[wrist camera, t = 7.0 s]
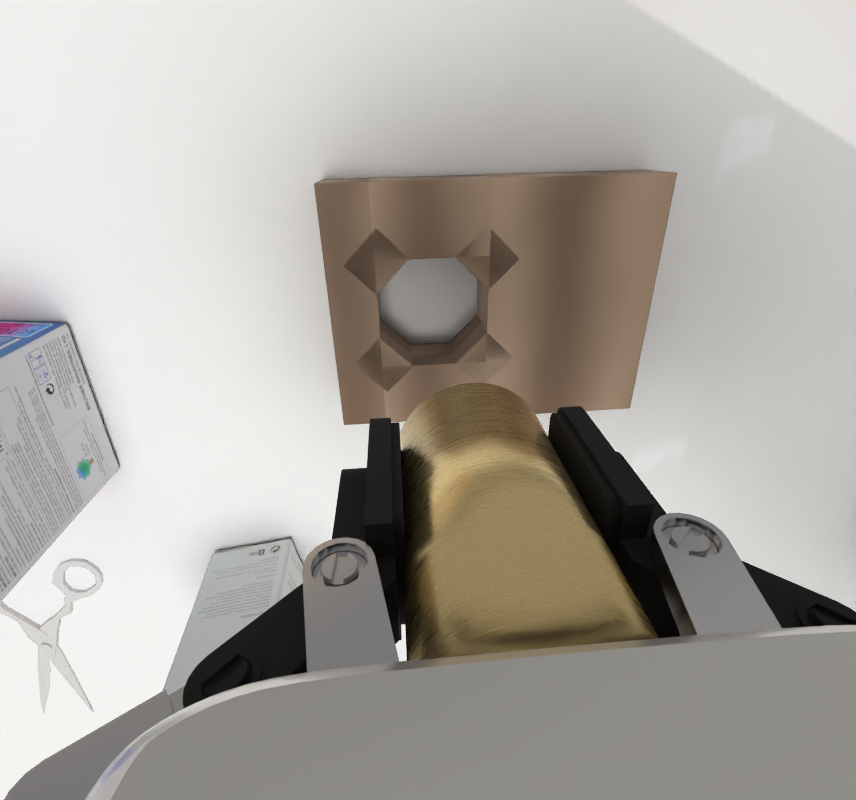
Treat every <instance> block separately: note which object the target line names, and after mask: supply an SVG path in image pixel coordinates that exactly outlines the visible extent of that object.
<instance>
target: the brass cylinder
mask: <svg viewBox="0 0 856 800" xmlns="http://www.w3.org/2000/svg"><path fill="white" fill-rule="evenodd" d="M400 445H401V464H402V485H403V506H404V527H405V548H406V565H405V570H404V598H405V623H406V648H407V661H413V660H424V659H435V658H445V657H456V656H466V655H477V654H487V653H498V652H509V651H520V650H531V649H542V648H553V647H564V646H575V645H587V644H598V643H609V642H621V641H632V640H643V639H655V638H659V637H658V635H657V633H656V632H655V630H654V628H653V626H652V624H651V623H650V621H649V619H648V617H647V615H646V614H645V612H644V610H643V608H642V606H641V604H640V603H639V601H638V599H637V597H636V595H635V594H634V592H633V590H632V588H631V586H630V585H629V583H628V581H627V579H626V577H625V576H624V574H623V572H622V570H621V568H620V567H619V565H618V563H617V561H616V559H615V558H614V556H613V554H612V552H611V550H610V549H609V547H608V545H607V543H606V541H605V539H604V538H603V536H602V534H601V532H600V530H599V529H598V527H597V525H596V523H595V521H594V520H593V518H592V516H591V514H590V512H589V511H588V509H587V507H586V505H585V503H584V502H583V500H582V498H581V496H580V494H579V493H578V491H577V489H576V487H575V485H574V483H573V482H572V480H571V478H570V476H569V474H568V473H567V471H566V469H565V467H564V465H563V464H562V462H561V460H560V458H559V456H558V455H557V453H556V451H555V449H554V447H553V446H552V444H551V442H550V440H549V438H548V437H547V435H546V433H545V431H544V429H543V427H542V426H541V424H540V422H539V420H538V418H537V417H536V415H535V413H534V411H533V410H532V409H531V407H530V406H529V405H528V404H527V403H526V401H525V400H524V399H522V398H521V397H520V396H518V395H517V394H516V393H514V392H512V391H510V390H508V389H506V388H503V387H501V386H497V385H493V384H488V383H465V384H459V385H455V386H451V387H448V388H445V389H443V390H440V391H438V392H436V393H434V394H433V395H431V396H430V397H428V398H427V399H425V400H424V401H423V402H422V403H420V404H419V405H418V406H417V407H416V408H415V409H414V411H413V412H412V413H411V414H410V416H409V417H408V419H407V420H406V422H405V424H404V426H403V428H402V431H401V434H400Z"/></svg>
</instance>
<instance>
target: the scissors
mask: <svg viewBox="0 0 856 800" xmlns="http://www.w3.org/2000/svg"><path fill="white" fill-rule="evenodd" d="M70 566H77V567H84V568H86V569H88V570H90V571H91V572H92V573H93V574H94V575H95V580H96V584H95V585H94V586H93V587H91V588H90V589H88V590H76V589H74V588H71V587H70V586H69V585H68V584H67V583H66V582H65V571H66V569H67V568H68V567H70ZM102 582H103V576H102V572H101V571H100V569H99V568H98V567H97V566H95V565H94V564H93V563H91V562H89V561H88V560H84V559H70V560H67V561H65V562H62V563H61V564H60V565H59V566H58V568H57V569H56V571H55V572H54V574H53V580H52V583H53V584H54V585H55V586H57V587H58V588H59V589H60V590H61V591H62V592H63V593H64V594H66V596H65V597H64V602H65V606H64V607H63V608H62V609H61V610H60V611H59V612H58V613H57V614H56V615H55V616H53V617H52V618H50V619H48V620H47V621H46V622H45V623H44V624H43V625H42V626H40V625H39V624H37V623H35V622H34V621H32V620H30V619H28V618H27V617H25V616H23V615H22V614H20V613H18V612H16V611H14V610H13V609H11V608H10V607H8V606H7V605H6V604H5V603H3V602H2V601H1V602H0V613H1V614H4V615H6V616H9V617H10V618H12V619H14V620H15V621H17V622H18V623H19V624H20V626H21V628H22V629H23V631H24V632H25V634H26V635H27V636H28V638H29V639H31V640H32V641H33V642H34V643H36V644H37V645H38V673H39V685H40V696H41V705H42V710H43V714H44V710H45V705H46V701H47V696H48V692H49V687H50V673H51V667H50V662H49V659H50V660H51V661H52V663H53V664H54V665H55V666H56V668H57V669H58V670H59V671H60V673H61V674H62V675H63V676H64V678H65V679H66V680H67V682H68V683H69V684H70V685H71V686H72V688H73V689H74V690H75V691H76V692H77V694H78V695H79V696H80V697H81V698H82V700H83V701H84V702H85V703H86V704H87V706H88V707H89V708H90V709H91V710H92V708H91V706H90V704H89V702H88V700H87V697H86V695H85V693H84V691H83V689H82V687H81V685H80V683H79V681H78V679H77V677H76V675H75V673H74V671H73V670H72V668H71V666H70V664H69V663H68V661H67V659H66V657H65V655H64V654H63V652H62V650H61V648H60V647H59V645H58V638H59V626H60V622H61V618H62V617H63V616H65V615H68V614H70V613H71V612H72V611H73V605H72V602H74V601H76V600H78V599H81V598H85V597H88V596H91V595H92V594H94V593H95V592H96V591H97V590H98V589H99V588H100V587H101V585H102ZM92 712H93V710H92ZM93 713H94V712H93Z"/></svg>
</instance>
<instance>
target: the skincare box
mask: <svg viewBox="0 0 856 800" xmlns="http://www.w3.org/2000/svg"><path fill="white" fill-rule="evenodd" d="M302 571H303V565H302V563H301V561H300V559H299V557H298V555H297V553H296V550H295V547H294V545H293V542H292V540H291V539H286V540H279V541H275V542H271V543H265V544H259V545H252V546H243V547H238V548H232V549H226V550H220V551H216V552H215V553H214V555H212V557H211V560H210V562H209V565H208V568H207V571H206V573H205V576H204V579H203V581H202V584H201V587H200V590H199V593H198V595H197V598H196V601H195V604H194V606H193V609H192V612H191V614H190V617H189V620H188V622H187V625H186V628H185V631H184V633H183V636H182V639H181V642H180V644H179V647H178V650H177V653H176V655H175V658H174V661H173V664H172V666H171V669H170V672H169V675H168V677H167V680H166V683H165V686H164V688H163V691H164V690H166V691H167V693H168V695H170V694H171V693H173V692H175V691H177V690H178V689H180V688H182V687H183V686H185V685H186V682H187V679H188V677H189V676H190V674H191V673H192V672H193V670H194V669H195V667H196V666H197V665H198V664H199V663H200V662H201V661H202V660H203V659H204V658H205V657H206V656H207V655H209V654H210V653H211V652H213V651H214V650H215V649H217V648H218V647H219V646H221V645H222V644H223V643H225V642H226V641H227V640H228V639H230V638H231V637H232V636H234V635H235V634H236V633H238V632H239V631H240V630H242V629H243V628H244V627H246V626H247V625H248V624H249V623H251V622H252V621H253V620H255V619H256V618H257V617H259V616H260V615H261V614H263V613H264V612H265V611H267V610H268V609H269V608H271V607H272V606H273V605H274V604H276V603H277V602H278V601H280V600H281V599H282V598H284V597H285V596H286V595H288V594H289V593H290V592H292V591H293V590H294V589H295V588H297V587H298V586H299V585H301V584H302V583H303V575H302Z"/></svg>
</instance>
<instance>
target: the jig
mask: <svg viewBox="0 0 856 800" xmlns="http://www.w3.org/2000/svg"><path fill="white" fill-rule="evenodd" d="M676 176H677V173H674V172H663V171H653V170H622V171H589V172H556V173H523V174H489V175H456V176H423V177H390V178H356V179H323V180H321V181H319V182H317V183H315V184H314V187H315V195H316V203H317V211H318V219H319V227H320V235H321V243H322V251H323V259H324V267H325V275H326V283H327V291H328V299H329V308H330V316H331V324H332V332H333V340H334V348H335V356H336V364H337V372H338V380H339V388H340V396H341V404H342V412H343V420H344V425H350V424H367V423H370V419H374V418H391V422H402V421H406V420H407V419H408V417H409V416H410V414H411V413H412V412H413V411H414V409H415V408H416V407H417V406H418V405H419V404H420V403H422V402H423V401H424V400H425V399H427V398H428V397H430V396H431V395H433V394H434V393H436V392H438V391H440V390H443V389H445V388H448V387H451V386H455V385H459V384H465V383H488V384H493V385H497V386H501V387H503V388H506V389H508V390H510V391H512V392H514V393H516V394H517V395H518V396H520V397H521V398H522V399H524V400H525V401H526V403H527V404H528V405H529V406H530V407H531V409H532V410H533V411H534V413H535V414H539V413H556V412H557V410H558V408H559V407H573V406H581V407H582V408H583V409H584V410H585V411H590V410H607V409H625V408H630V404H631V399H632V394H633V389H634V384H635V379H636V374H637V369H638V365H639V360H640V355H641V350H642V345H643V340H644V335H645V330H646V325H647V320H648V315H649V310H650V305H651V300H652V295H653V290H654V285H655V280H656V275H657V270H658V265H659V260H660V255H661V250H662V245H663V240H664V235H665V231H666V226H667V221H668V216H669V211H670V206H671V201H672V196H673V191H674V186H675V181H676ZM451 257H456V258H457V259H458V260H459V261H460V262H461V263H462V264H464V265H465V266H466V267H467V268H468V269H469V270H470V271H471V272H472V273H473V274H474V275H475V276H476V277H477V278H478V302H477V315H476V316H475V317H474V318H473V319H472V320H471V321H470V322H469V323H468V324H467V325H466V326H465V327H464V328H463V329H462V330H461V331H460V332H459V333H458V334H457V335H456V336H455V337H454V338H453V339H452V340H451V341H450V342H449V343H431V344H411V345H410V344H409V343H408V342H407V341H406V340H404V339H403V338H402V337H401V336H400V335H399V334H397V333H396V332H395V331H394V330H393V329H392V328H390V327H389V326H388V325H387V324H386V323H385V322H383V321H382V320H381V316H380V302H379V291H380V290H381V289H382V288H383V287H384V286H385V285H386V283H387V282H388V281H389V280H390V279H391V278H392V277H393V276H394V275H395V273H396V272H397V271H398V270H399V269H400V268H401V267H402V266H403V265H404V263H405V262H406V261H407V260H408V259H426V258H451Z"/></svg>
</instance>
